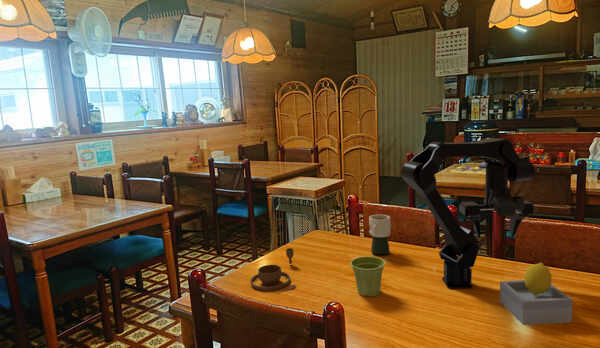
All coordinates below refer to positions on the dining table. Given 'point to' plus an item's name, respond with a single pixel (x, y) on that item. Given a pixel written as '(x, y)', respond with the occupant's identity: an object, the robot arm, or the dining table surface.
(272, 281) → the place setting
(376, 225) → the character mug
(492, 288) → the dining table surface
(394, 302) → the dining table surface
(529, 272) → the lemon
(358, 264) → the plant pot
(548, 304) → the grey open box
